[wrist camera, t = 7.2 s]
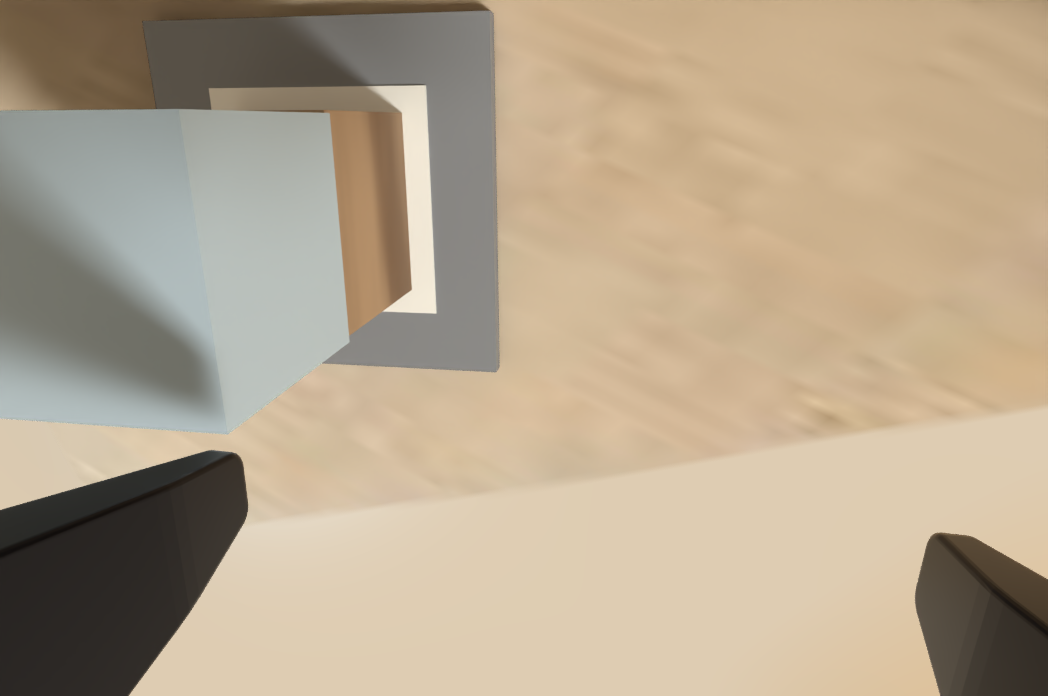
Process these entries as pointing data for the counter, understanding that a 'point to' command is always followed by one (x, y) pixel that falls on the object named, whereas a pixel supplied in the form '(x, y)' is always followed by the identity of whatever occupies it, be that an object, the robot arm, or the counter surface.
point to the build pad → (429, 148)
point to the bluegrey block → (165, 264)
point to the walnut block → (370, 210)
